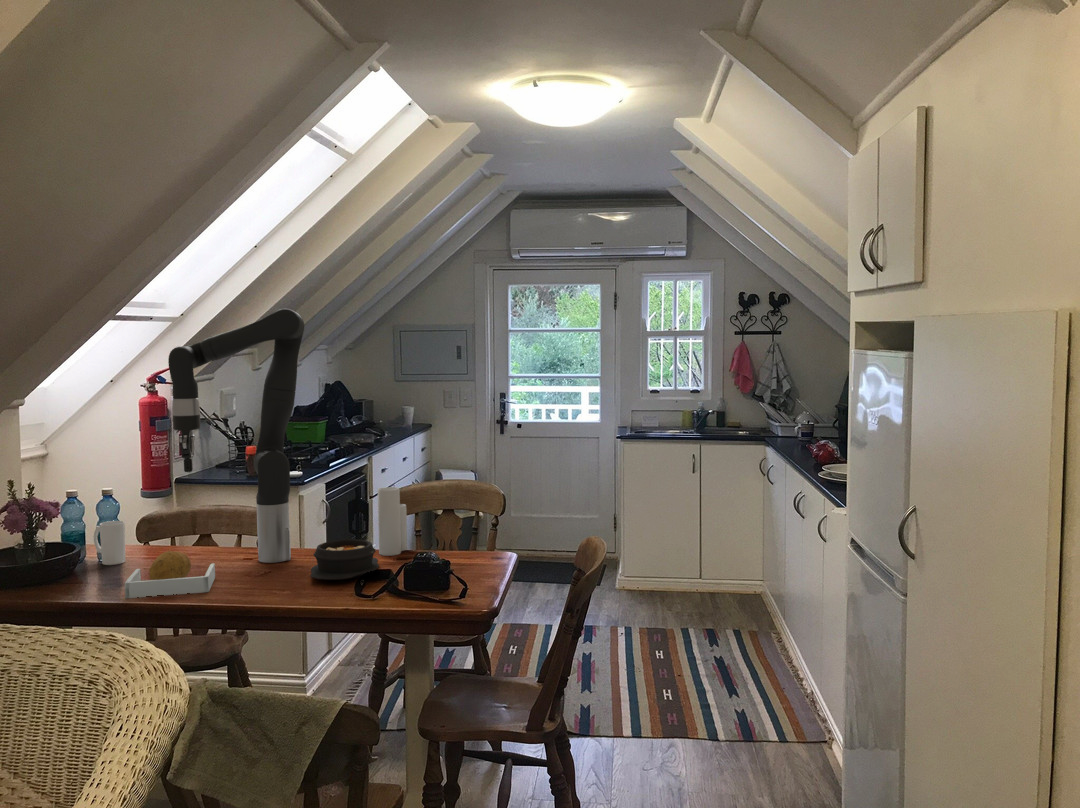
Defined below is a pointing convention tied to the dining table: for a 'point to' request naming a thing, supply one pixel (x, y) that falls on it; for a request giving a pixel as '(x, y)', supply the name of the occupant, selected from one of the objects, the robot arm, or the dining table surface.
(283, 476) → the robot arm
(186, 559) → the potato
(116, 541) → the mug
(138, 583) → the bin
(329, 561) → the casserole
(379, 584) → the dining table surface
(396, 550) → the vase
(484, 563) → the dining table surface
